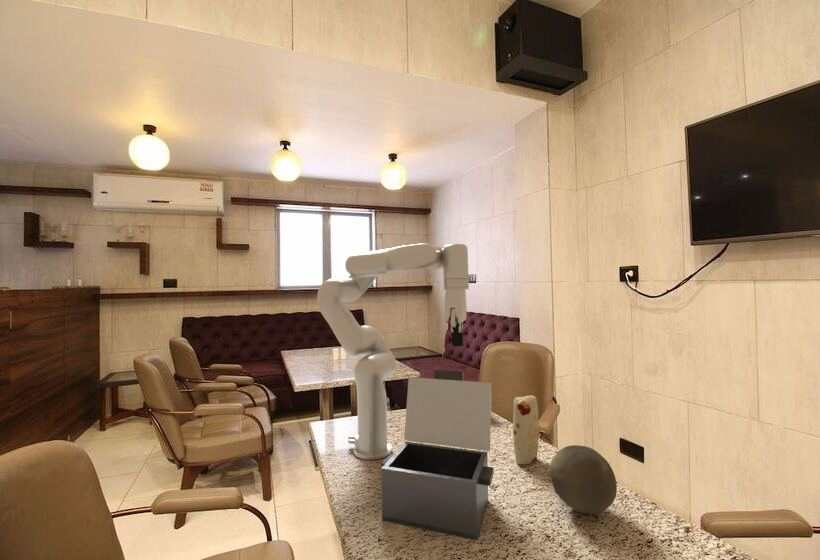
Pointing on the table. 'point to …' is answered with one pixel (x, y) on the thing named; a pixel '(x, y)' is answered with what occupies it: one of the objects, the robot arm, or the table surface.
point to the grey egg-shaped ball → (583, 479)
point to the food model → (525, 429)
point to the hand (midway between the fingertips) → (457, 345)
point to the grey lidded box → (436, 488)
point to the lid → (449, 411)
